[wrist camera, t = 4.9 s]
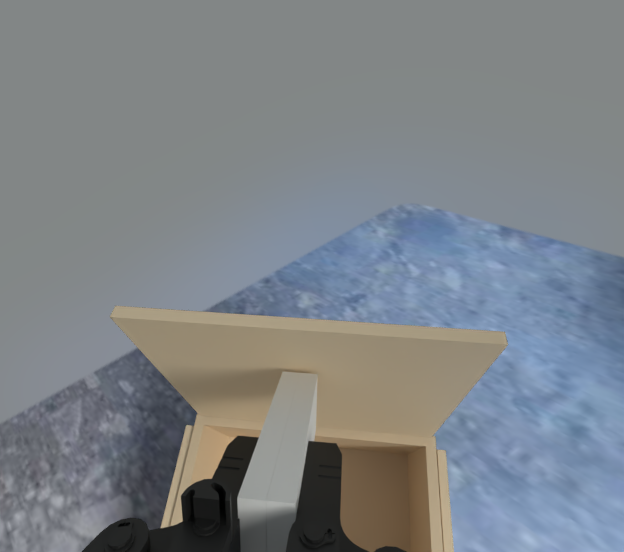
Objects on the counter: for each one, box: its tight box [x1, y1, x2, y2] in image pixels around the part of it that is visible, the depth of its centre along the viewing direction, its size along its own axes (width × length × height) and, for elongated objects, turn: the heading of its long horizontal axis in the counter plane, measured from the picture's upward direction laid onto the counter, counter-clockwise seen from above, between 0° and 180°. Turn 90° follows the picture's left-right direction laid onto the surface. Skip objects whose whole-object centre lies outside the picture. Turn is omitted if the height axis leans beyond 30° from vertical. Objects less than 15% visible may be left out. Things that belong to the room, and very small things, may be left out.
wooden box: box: [161, 414, 454, 552], centre depth 23 cm, size 16×12×7 cm
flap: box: [110, 306, 508, 438], centre depth 18 cm, size 14×1×12 cm, turn 85°
